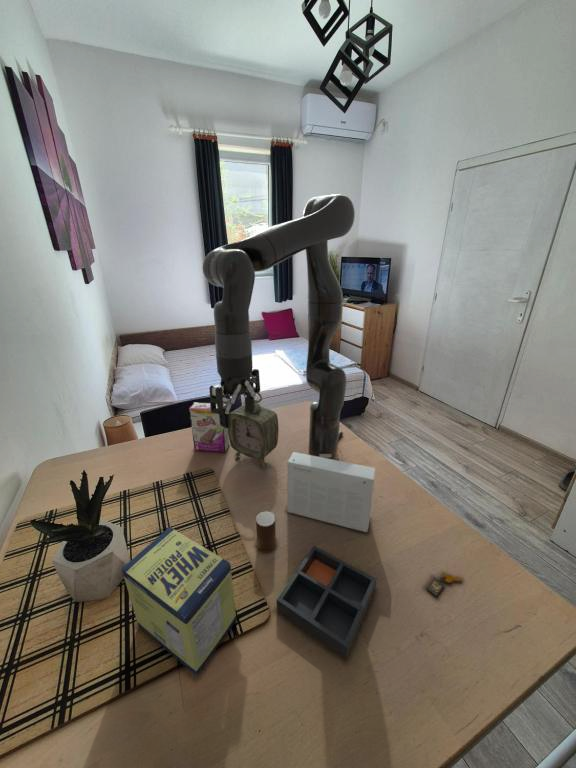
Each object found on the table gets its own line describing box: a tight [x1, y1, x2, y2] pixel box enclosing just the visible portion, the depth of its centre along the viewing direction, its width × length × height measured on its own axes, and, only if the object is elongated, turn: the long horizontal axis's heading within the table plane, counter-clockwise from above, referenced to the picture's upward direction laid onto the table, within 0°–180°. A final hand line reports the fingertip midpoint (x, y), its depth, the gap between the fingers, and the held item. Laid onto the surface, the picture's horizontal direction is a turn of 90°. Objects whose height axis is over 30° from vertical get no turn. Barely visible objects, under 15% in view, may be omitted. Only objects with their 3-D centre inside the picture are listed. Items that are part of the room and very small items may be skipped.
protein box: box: [121, 526, 238, 677], centre depth 57 cm, size 10×16×16 cm
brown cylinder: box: [255, 511, 277, 553], centre depth 75 cm, size 4×4×8 cm
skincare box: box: [286, 451, 377, 533], centre depth 82 cm, size 21×6×16 cm, turn 71°
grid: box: [276, 545, 378, 660], centre depth 64 cm, size 14×14×4 cm
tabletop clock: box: [228, 392, 280, 469], centre depth 102 cm, size 14×9×25 cm, turn 58°
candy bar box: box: [188, 401, 230, 453], centre depth 109 cm, size 11×5×16 cm, turn 84°
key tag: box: [425, 573, 463, 597], centre depth 68 cm, size 8×3×1 cm, turn 116°
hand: (238, 418), depth 75 cm, fingers open, 8 cm apart
